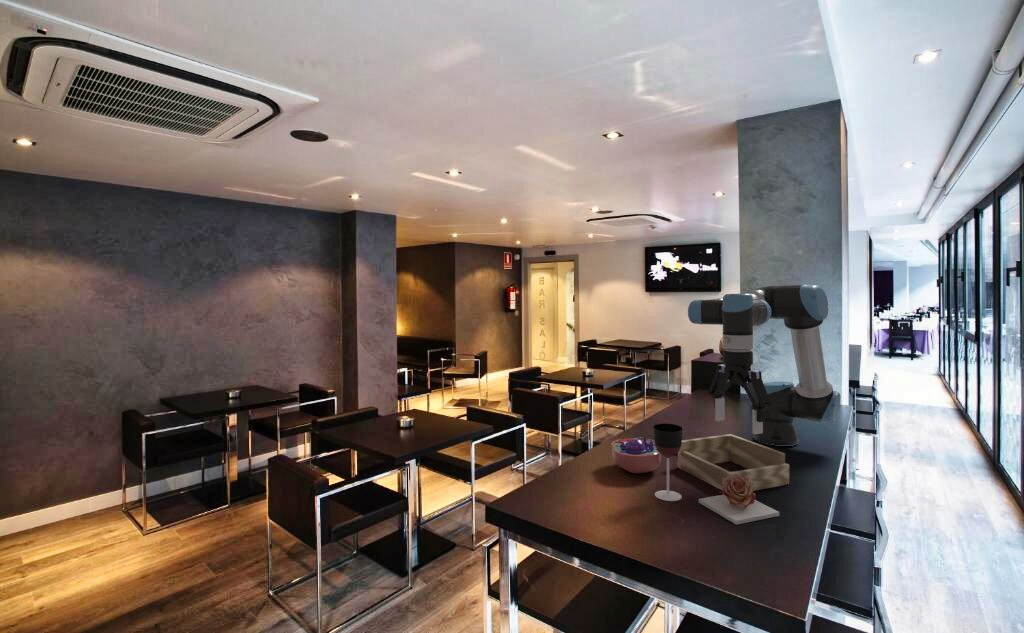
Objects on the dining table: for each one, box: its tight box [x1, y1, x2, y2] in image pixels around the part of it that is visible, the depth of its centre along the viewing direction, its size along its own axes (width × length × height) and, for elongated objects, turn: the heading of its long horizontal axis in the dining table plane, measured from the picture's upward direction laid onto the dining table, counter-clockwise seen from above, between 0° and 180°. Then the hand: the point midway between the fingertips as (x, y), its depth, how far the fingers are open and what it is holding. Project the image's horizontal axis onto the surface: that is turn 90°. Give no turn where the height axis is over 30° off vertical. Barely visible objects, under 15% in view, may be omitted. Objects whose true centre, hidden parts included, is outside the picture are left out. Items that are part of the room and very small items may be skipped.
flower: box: [718, 474, 756, 508], centre depth 132 cm, size 9×9×7 cm
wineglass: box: [653, 423, 683, 502], centre depth 141 cm, size 8×9×20 cm
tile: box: [698, 494, 780, 525], centre depth 131 cm, size 14×14×1 cm
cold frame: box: [677, 433, 790, 492], centre depth 155 cm, size 22×24×9 cm
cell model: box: [610, 437, 663, 474], centre depth 162 cm, size 17×20×11 cm
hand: (737, 426), depth 133 cm, fingers open, 13 cm apart
